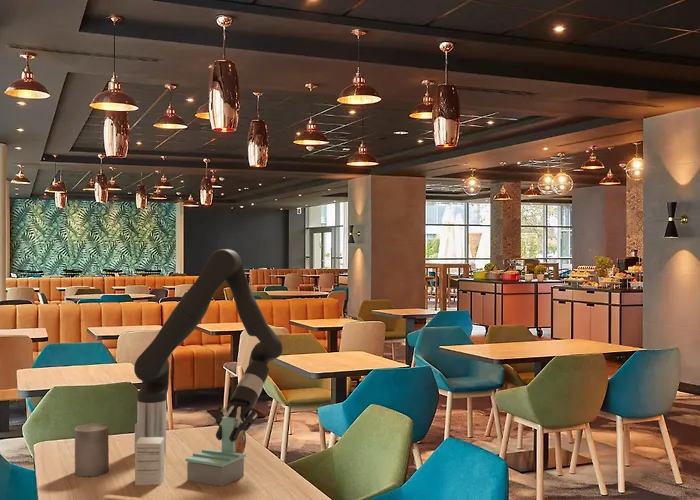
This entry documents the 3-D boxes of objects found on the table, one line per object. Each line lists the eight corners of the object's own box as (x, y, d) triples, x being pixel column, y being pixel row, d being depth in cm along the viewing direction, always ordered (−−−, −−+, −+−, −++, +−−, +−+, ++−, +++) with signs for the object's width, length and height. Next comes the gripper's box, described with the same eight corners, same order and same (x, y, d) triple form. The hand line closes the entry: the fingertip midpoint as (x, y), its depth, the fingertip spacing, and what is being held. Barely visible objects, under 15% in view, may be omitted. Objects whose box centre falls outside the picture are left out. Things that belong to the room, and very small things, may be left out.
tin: (231, 461, 243) (231, 435, 243) (221, 461, 244) (221, 434, 244) (246, 449, 258) (247, 424, 258) (237, 449, 258) (238, 424, 258)
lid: (185, 461, 220) (185, 423, 220) (211, 450, 232) (212, 415, 232) (222, 467, 215) (222, 428, 215) (247, 456, 226) (247, 419, 226)
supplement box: (138, 480, 222) (139, 436, 222) (164, 479, 223) (165, 436, 223) (133, 488, 215) (134, 443, 215) (160, 487, 216) (161, 442, 216)
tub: (187, 483, 220) (187, 462, 220) (209, 473, 230) (210, 453, 230) (221, 488, 215) (222, 467, 215) (243, 478, 225) (243, 458, 225)
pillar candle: (99, 466, 237) (99, 417, 237) (114, 472, 230) (114, 422, 230) (68, 472, 230) (68, 422, 230) (83, 479, 223) (83, 428, 223)
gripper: (223, 382, 238) (199, 430, 227) (262, 386, 232) (240, 435, 221) (233, 397, 243) (210, 443, 232) (271, 401, 237) (249, 449, 226)
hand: (224, 439), depth 227 cm, fingers closed on lid, 4 cm apart
